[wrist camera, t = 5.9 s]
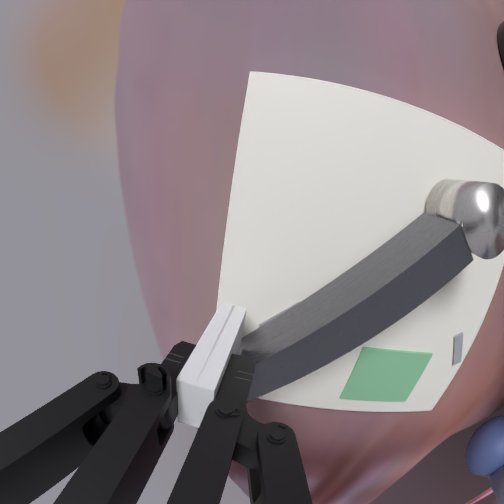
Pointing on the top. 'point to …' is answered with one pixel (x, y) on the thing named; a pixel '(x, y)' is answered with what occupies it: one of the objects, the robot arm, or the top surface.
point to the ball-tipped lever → (380, 285)
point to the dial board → (350, 230)
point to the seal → (488, 454)
